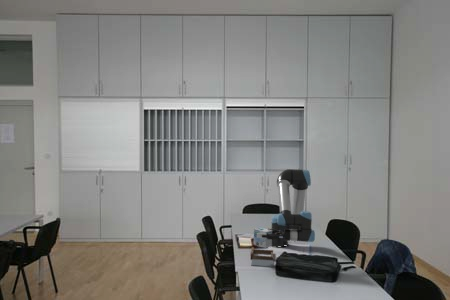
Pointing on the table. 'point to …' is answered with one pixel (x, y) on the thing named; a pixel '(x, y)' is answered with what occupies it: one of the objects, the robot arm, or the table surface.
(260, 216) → the table surface
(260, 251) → the brown wooden square frame
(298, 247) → the table surface
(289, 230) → the robot arm
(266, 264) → the slate mat
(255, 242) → the light bulb box
